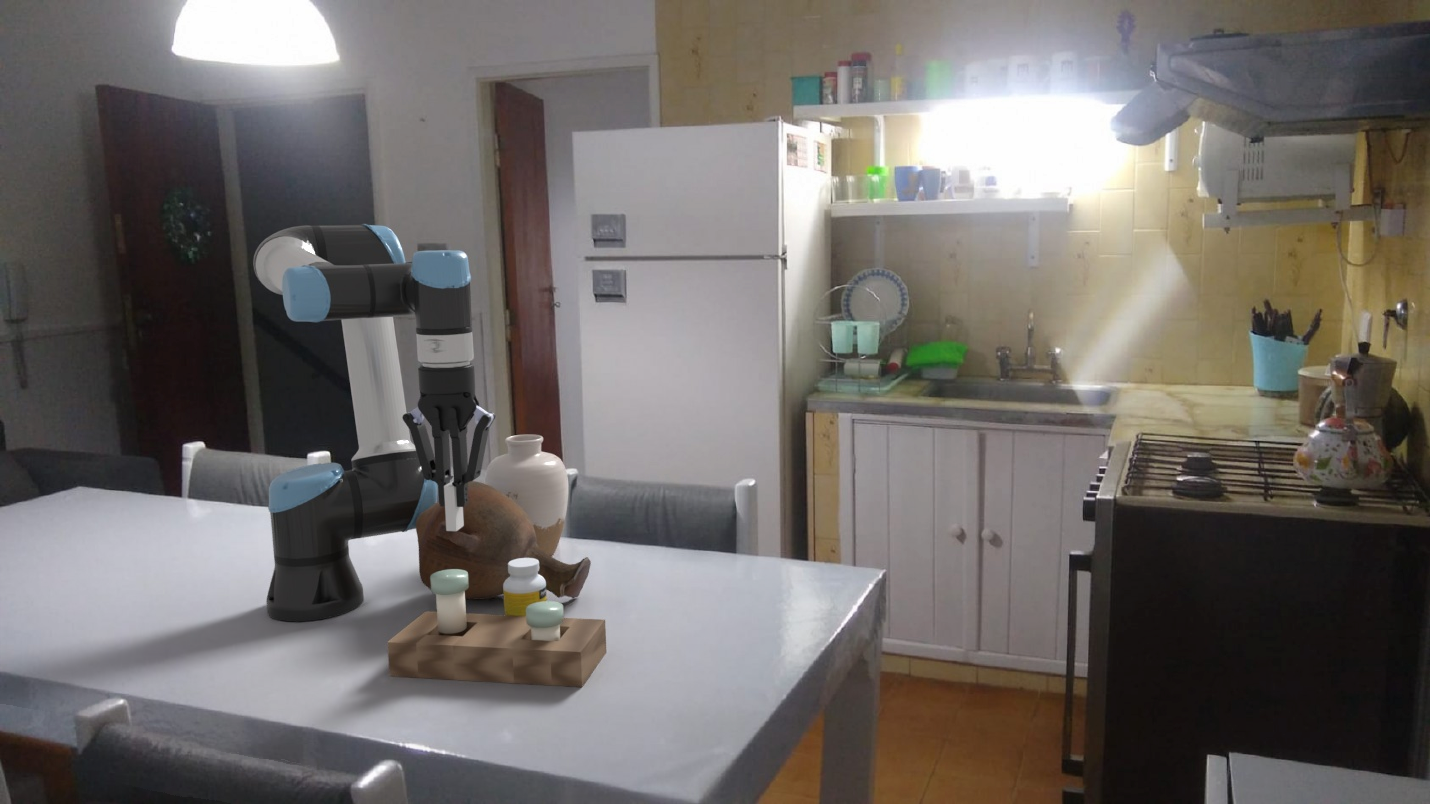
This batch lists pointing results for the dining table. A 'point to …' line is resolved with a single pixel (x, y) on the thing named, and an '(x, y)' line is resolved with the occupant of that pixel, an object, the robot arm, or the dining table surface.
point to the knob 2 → (545, 620)
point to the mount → (498, 651)
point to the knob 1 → (450, 599)
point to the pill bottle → (523, 586)
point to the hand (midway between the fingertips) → (455, 528)
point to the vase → (533, 486)
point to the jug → (490, 546)
